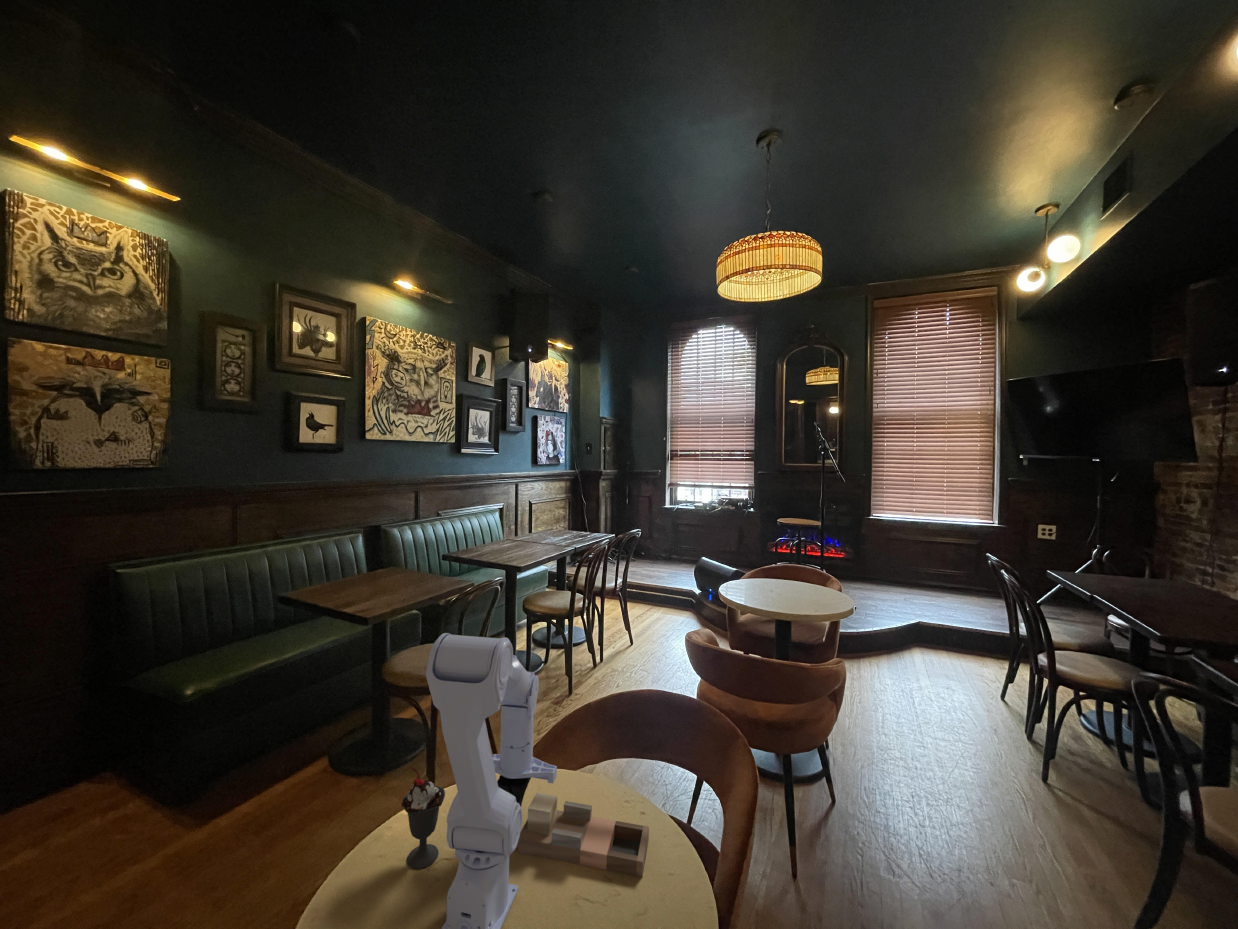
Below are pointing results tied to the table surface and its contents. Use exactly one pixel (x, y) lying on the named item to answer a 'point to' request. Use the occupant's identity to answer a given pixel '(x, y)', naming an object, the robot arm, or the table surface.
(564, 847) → the wooden stepped tray
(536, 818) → the block
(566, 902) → the table surface
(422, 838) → the sundae
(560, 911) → the table surface
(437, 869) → the table surface
